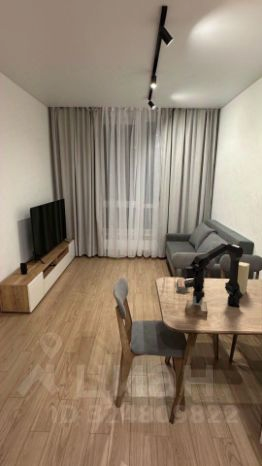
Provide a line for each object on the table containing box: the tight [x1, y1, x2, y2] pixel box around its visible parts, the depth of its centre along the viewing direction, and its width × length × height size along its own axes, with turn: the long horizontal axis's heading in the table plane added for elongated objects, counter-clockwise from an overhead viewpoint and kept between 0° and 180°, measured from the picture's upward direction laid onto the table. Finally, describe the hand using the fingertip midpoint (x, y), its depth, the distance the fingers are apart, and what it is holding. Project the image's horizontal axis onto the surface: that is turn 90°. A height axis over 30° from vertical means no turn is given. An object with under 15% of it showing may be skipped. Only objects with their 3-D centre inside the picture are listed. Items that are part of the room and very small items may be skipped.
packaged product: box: [175, 277, 191, 294], centre depth 187 cm, size 18×5×10 cm
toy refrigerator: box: [238, 261, 250, 295], centre depth 181 cm, size 8×7×21 cm
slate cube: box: [191, 295, 204, 305], centre depth 153 cm, size 6×6×6 cm
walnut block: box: [185, 299, 209, 318], centre depth 154 cm, size 12×12×4 cm
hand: (197, 300), depth 153 cm, fingers closed on slate cube, 5 cm apart
